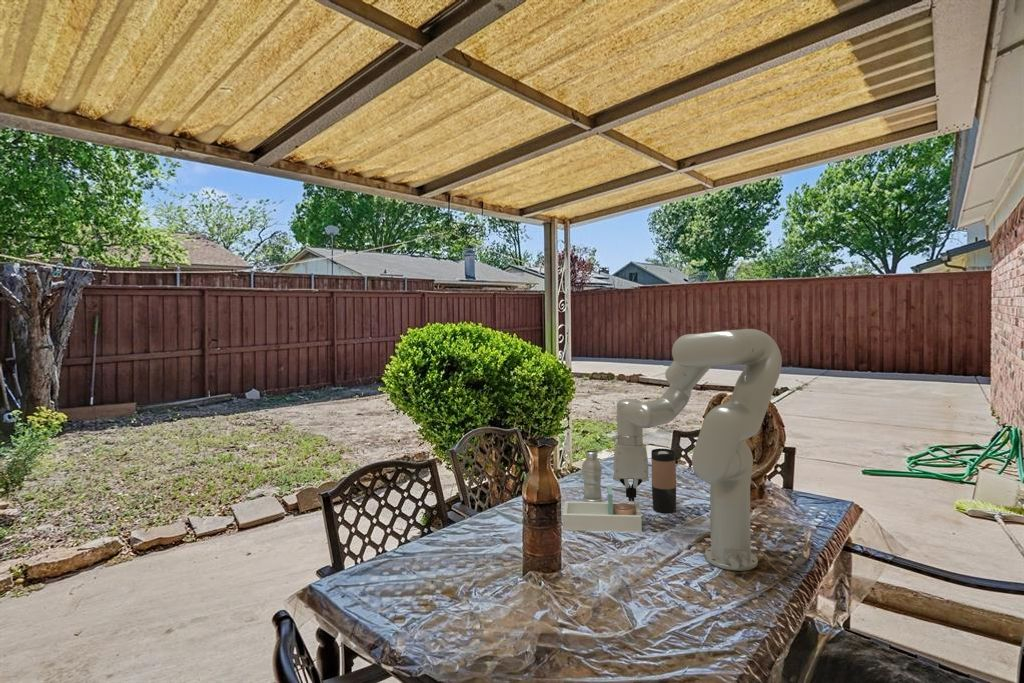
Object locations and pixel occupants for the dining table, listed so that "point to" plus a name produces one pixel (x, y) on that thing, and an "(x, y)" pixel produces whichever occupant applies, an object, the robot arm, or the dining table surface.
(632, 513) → the terracotta jar
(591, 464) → the plastic bottle
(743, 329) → the robot arm
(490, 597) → the dining table surface
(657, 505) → the travel mug
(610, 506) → the pusher
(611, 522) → the white open tray
